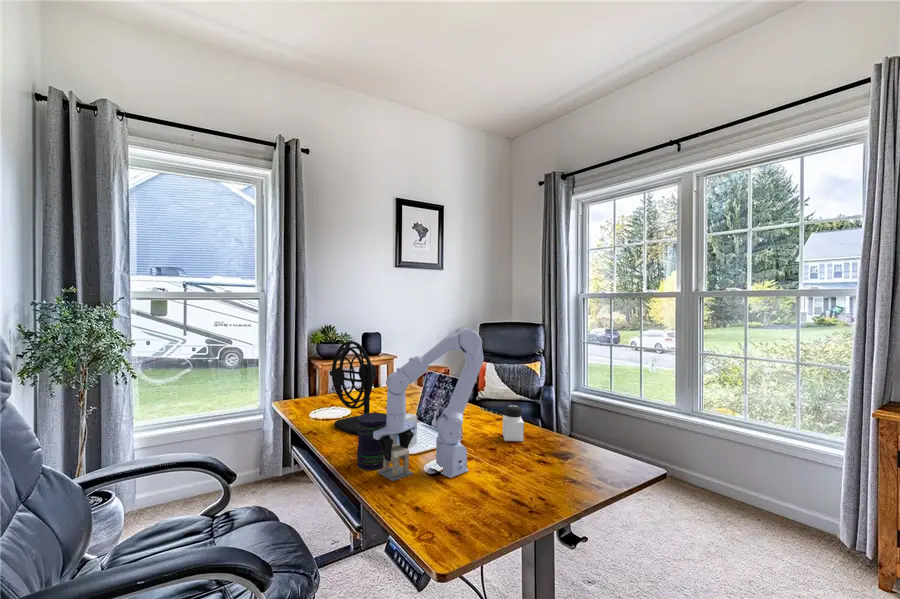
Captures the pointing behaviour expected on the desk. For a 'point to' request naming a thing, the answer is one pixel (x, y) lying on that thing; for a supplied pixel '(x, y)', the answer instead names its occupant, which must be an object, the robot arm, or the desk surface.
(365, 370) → the desk fan
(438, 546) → the desk surface
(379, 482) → the desk surface
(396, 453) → the stool
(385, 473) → the mat
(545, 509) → the desk surface
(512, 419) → the medicine bottle
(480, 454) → the desk surface
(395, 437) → the light bulb box
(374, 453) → the storage jar
